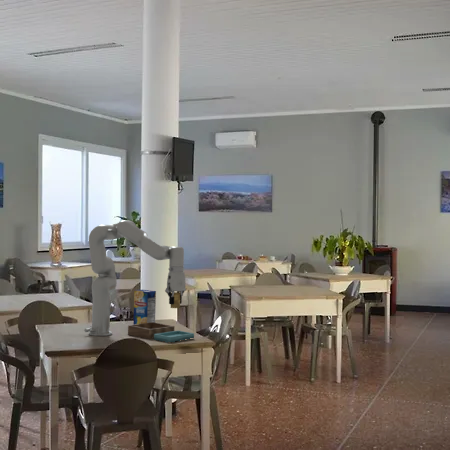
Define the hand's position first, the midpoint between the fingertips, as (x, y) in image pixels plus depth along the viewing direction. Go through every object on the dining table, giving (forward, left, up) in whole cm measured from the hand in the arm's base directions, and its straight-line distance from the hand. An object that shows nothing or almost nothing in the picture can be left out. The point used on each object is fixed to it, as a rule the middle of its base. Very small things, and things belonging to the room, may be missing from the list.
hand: (175, 303), depth 340 cm
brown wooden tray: (0, +18, -19) cm, 26 cm away
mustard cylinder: (0, 0, -2) cm, 2 cm away
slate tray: (0, 0, -19) cm, 19 cm away
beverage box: (+12, +37, -19) cm, 43 cm away
